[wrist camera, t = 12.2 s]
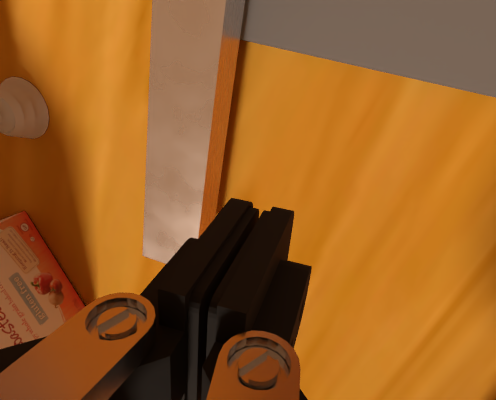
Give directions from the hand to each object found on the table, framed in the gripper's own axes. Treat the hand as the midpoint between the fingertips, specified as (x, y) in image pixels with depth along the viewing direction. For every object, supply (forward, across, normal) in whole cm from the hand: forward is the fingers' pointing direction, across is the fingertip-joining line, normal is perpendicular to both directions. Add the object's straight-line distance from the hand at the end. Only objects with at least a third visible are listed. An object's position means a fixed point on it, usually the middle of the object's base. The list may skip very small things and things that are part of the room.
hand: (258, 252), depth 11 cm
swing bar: (+15, +8, -1) cm, 17 cm away
